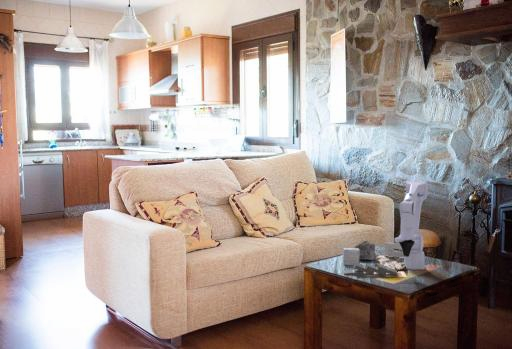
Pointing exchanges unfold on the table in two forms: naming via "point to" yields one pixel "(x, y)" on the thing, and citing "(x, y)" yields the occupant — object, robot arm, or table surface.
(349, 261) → the medicine box
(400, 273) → the board
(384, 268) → the loose domino
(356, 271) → the end domino
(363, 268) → the domino
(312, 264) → the table surface
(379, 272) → the domino
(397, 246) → the cassette
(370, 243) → the mineral rock
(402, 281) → the table surface
